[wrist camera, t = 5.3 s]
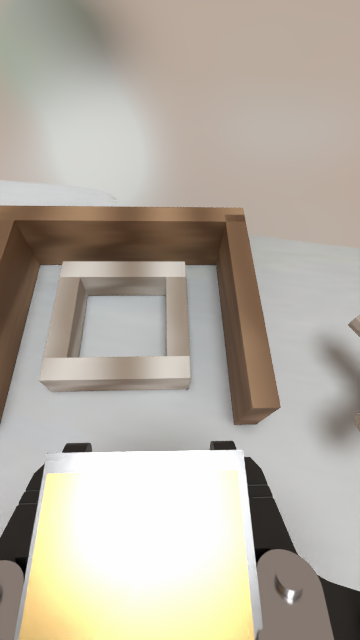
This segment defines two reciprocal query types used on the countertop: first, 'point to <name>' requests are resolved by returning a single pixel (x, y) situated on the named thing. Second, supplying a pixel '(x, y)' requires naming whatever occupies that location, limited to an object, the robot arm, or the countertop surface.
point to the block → (142, 549)
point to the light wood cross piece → (356, 325)
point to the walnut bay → (133, 279)
